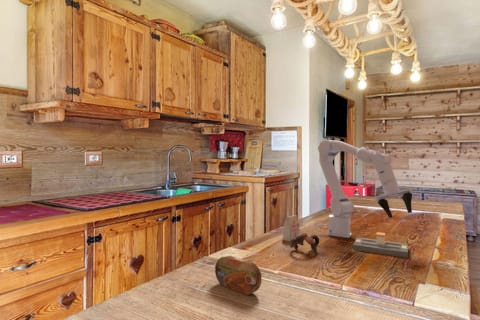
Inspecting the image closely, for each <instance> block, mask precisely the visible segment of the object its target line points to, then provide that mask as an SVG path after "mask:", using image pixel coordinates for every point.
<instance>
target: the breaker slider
mask: <svg viewBox="0 0 480 320" xmlns="http://www.w3.org/2000/svg"><path fill="white" fill-rule="evenodd" d="M375 237H376V238H375V240H376V244H382V245H385V241H386V233H385V232H378V231H377V232H376V235H375Z"/></svg>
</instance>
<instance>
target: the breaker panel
mask: <svg viewBox="0 0 480 320" xmlns="http://www.w3.org/2000/svg"><path fill="white" fill-rule="evenodd" d="M354 240H355V241H354V242H353V244H352V250H353V251H360V252H366V253H371V254H380V255H385V256H386V255H387V256H393V257H400V258H404V259H405V258H406V259H408V258H409V249H408V248H409V246H408V243H403V242H394V241H387V240H385V245H382V244H376V239H372V238H366V237H365V238H364V237H357V236H356V239H354Z"/></svg>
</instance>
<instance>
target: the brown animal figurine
mask: <svg viewBox="0 0 480 320" xmlns="http://www.w3.org/2000/svg"><path fill="white" fill-rule="evenodd" d="M304 241H305V242H306V243H307V244H308V245H309V246H310V250H309V251H308V253H309V255H310V258H312V257H315V256H317V255H318V249H317V247H318V246H319V244H320V238H319V237H318V235H315V234H312V235H311V236H309V235H308V233H303V234H299V236H298V237H296V239H292V240H291V241H290V242H289V243H290V246H289V247H290V248H293V249H294V250H298V249H299V245H300V246H304V245H305V244H304Z"/></svg>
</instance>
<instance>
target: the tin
mask: <svg viewBox="0 0 480 320" xmlns="http://www.w3.org/2000/svg"><path fill="white" fill-rule="evenodd" d="M214 272H215V277H216V279H217V281H218V283H219V284H220V285H221V286H222V287H224V288H227V289H229V290H232V291H235V292H238V293H240V294H243V295H246V296H247V295H248V296H250V295H252V294H253V293H256V292H257V291H258V290H259V289H260V287H261V285H262V273H261V269H260V268H259V267H258V266H257V264H256V263H255V262H253V261H250V260H246V259H243V258H239V257H236V256H232V255H228V256H227V255H226V256H221V257H220V258H218V259H217V261H216V262H215V266H214Z"/></svg>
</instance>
